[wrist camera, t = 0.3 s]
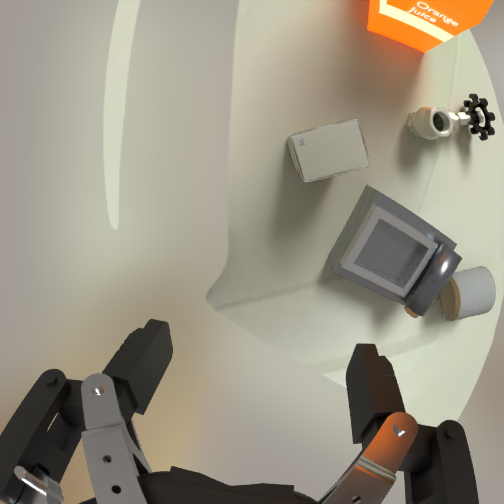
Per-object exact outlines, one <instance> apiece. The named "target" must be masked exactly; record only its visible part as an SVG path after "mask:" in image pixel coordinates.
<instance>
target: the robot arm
mask: <svg viewBox="0 0 504 504" xmlns="http://www.w3.org/2000/svg"><path fill="white" fill-rule="evenodd" d="M172 354H173V346H172V341H171V336H170V329H169V325H168V323H167V322H164V321H159V320H154V319H150V320H149V321H148V322H147V324H146V325H145V327H144V328H143V329H142V328H138V329H136V330H135V331H133V332H132V333H130V334H129V336H128V337H127V339H126V340H125V341H124V343H123V344H122V345H121V347H120V349H119V350H118V351H117V352H116V353H115V355H114V356H113V358H112V359H111V360H110V362H109V363H108V365H107V366H106V368H105V369H104V370H103V372H102V373H97V374H92V375H90V376H88V377H87V378H86V379H85V380H84V381H80V380H70V379H66V377H65V375H64V373H63V372H62V371H60V370H58V369H50V370H47V371H45V372H44V373H43V374H42V375H41V376H40V377H39V379H38V380H37V381H36V383H35V384H34V385H33V387H32V388H31V390H30V391H29V393H28V394H27V395H26V397H25V398H24V400H23V401H22V403H21V404H20V406H19V407H18V408H17V410H16V412H15V413H14V415H13V416H12V418H11V419H10V421H9V422H8V424H7V426H6V427H5V429H4V430H3V432H2V434H1V436H0V500H1V501H2V502H3V503H5V504H61V503H62V502H63V500H64V497H63V495H62V491H61V487H60V486H59V483H60V481H61V479H62V477H63V475H64V472H65V470H66V468H67V466H68V464H69V462H70V460H71V457H72V455H73V453H74V451H75V449H76V447H77V445H78V443H79V441H80V439H81V437H82V442H83V447H84V452H85V457H86V462H87V467H88V471H89V474H90V479H91V483H92V486H93V490H94V493H95V497H94V498H92V499H89V500H87V501H84V502H81V503H79V504H381V503H382V501H383V500H384V498H385V497H386V495H387V494H388V492H389V491H390V489H391V487H392V486H393V484H394V482H395V480H396V477H395V474H396V472H397V471H404V480H405V497H406V504H479V500H478V493H477V487H476V480H475V474H474V469H473V464H472V460H471V455H470V451H469V447H468V443H467V439H466V435H465V432H464V429H463V427H462V426H461V425H460V424H459V423H458V422H456V421H453V420H446V421H444V422H442V423H441V424H440V425H439V426H438V427H431V426H425V425H420V424H417V421H416V420H415V418H414V417H413V416H411V415H410V414H408V413H406V411H405V408H404V404H403V400H402V397H401V393H400V390H399V386H398V383H397V380H396V377H395V376H394V374H395V373H394V370H393V367H392V364H391V363H390V362H389V361H388V359H387V358H386V357H385V356H379V355H378V352H377V348H376V346H375V344H357V345H356V347H355V349H354V352H353V355H352V357H351V360H350V363H349V365H348V368H347V372H346V385H347V393H348V401H349V409H350V417H351V427H352V436H353V444H358V443H362V451H361V452H360V453H359V454H358V456H357V457H356V458H355V460H354V461H353V462H352V464H351V465H350V466H349V467H348V469H347V470H346V471H345V472H344V474H343V475H342V476H341V477H340V478H339V480H338V481H337V482H336V483H335V484H334V485H333V486H332V487H331V488H330V489H329V491H327V493H326V494H325V495H324V496H323V497H322V498H321V499H320V500H319V501H318V502H317V501H315V500H314V499H312V498H311V497H309V496H307V495H305V494H302V493H299V492H296V491H294V485H279V484H266V483H261V484H251V485H238V486H230V485H227V484H224V483H222V482H219V481H217V480H215V479H212V478H210V477H208V476H206V475H203V474H201V473H198V472H193V471H189V470H185V469H182V468H178V467H174V466H172V467H171V469H170V471H160V472H152V470H151V468H150V466H149V464H148V462H147V460H146V458H145V456H144V454H143V451H142V448H141V445H140V443H139V440H138V437H137V433H136V430H135V427H134V424H133V421H132V416H133V414H134V412H136V413H139V414H142V415H144V413H145V411H146V409H147V407H148V405H149V403H150V401H151V399H152V397H153V394H154V393H155V391H156V388H157V387H158V385H159V383H160V380H161V379H162V377H163V375H164V373H165V371H166V369H167V367H168V365H169V363H170V361H171V358H172ZM57 413H58V415H57V416H56V418H55V420H54V421H53V423H52V425H51V427H50V428H49V430H48V427H49V425H50V423H51V422H52V420H53V418H54V417H55V415H56V414H57ZM47 430H48V432H47Z"/></svg>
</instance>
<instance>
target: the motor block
mask: <svg viewBox="0 0 504 504" xmlns="http://www.w3.org/2000/svg"><path fill="white" fill-rule="evenodd" d="M456 245H457V244H456V243H455V242H453V241H452V240H451V239H449V238H448V237H447V236H445V235H444V234H443V233H441V232H440V231H439V230H437V229H436V228H434V227H433V226H431V225H430V224H429V223H427V222H426V221H424V220H423V219H421V218H420V217H418V216H417V215H415V214H414V213H412V212H411V211H409V210H408V209H406V208H405V207H403V206H402V205H400V204H398V203H397V202H395V201H394V200H392V199H390V198H389V197H387V196H385V195H384V194H382V193H381V192H379V191H377V190H375V189H374V188H372V187H370V186H368V185H367V186H366V188H365V190H364V192H363V194H362V195H361V197H360V199H359V201H358V203H357V205H356V207H355V209H354V211H353V213H352V214H351V216H350V218H349V220H348V222H347V224H346V226H345V227H344V229H343V231H342V233H341V235H340V236H339V238H338V240H337V242H336V244H335V245H334V247H333V249H332V251H331V252H330V254H329V259H330V262H331V265H332V268H333V271H334V272H335V273H337V274H339V275H341V276H343V277H345V278H348V279H350V280H352V281H354V282H356V283H358V284H360V285H362V286H365V287H367V288H369V289H371V290H373V291H375V292H377V293H379V294H381V295H384V296H386V297H388V298H390V299H392V300H394V301H396V302H398V303H400V304H402V305H404V306H405V307H404V309H405V311H406V312H407V313H408V314H409V315H411V316H412V317H414V318H417V317H418V316H424V315H425V314H426V312H427V311H428V310H429V308H430V307H431V306H432V304H433V303H434V301H435V300H436V298H437V297H438V296H439V294H440V293H441V291H442V290H443V288H444V287H445V285H446V284H447V282H448V281H449V279H450V278H451V276H452V274H453V273H454V271H455V270H456V268H457V266H458V265H459V263H460V261H461V260H462V257H461V256H459V255H458V254H457V253H456V252H454V251H453V250H454V249H455V247H456Z"/></svg>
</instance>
